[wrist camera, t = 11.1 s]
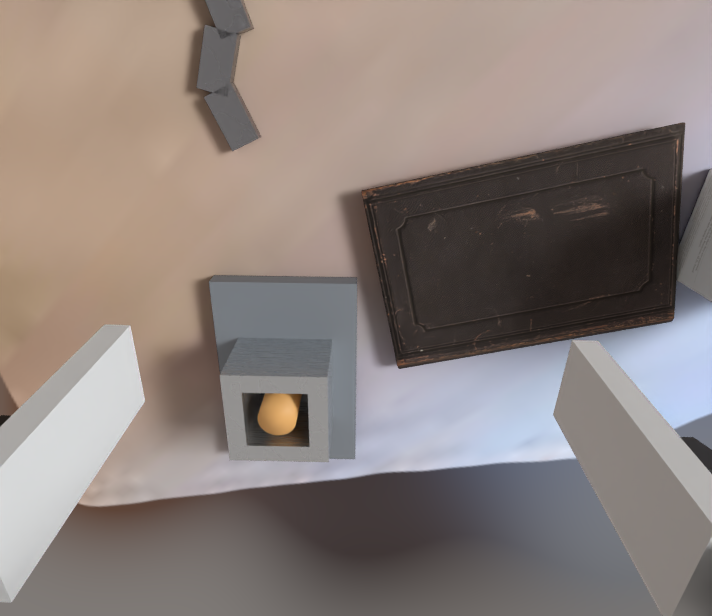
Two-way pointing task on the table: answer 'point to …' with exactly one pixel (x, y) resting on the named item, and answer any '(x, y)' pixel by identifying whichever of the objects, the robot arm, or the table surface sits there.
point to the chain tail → (226, 71)
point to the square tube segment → (286, 376)
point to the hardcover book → (530, 247)
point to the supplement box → (698, 246)
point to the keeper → (294, 321)
